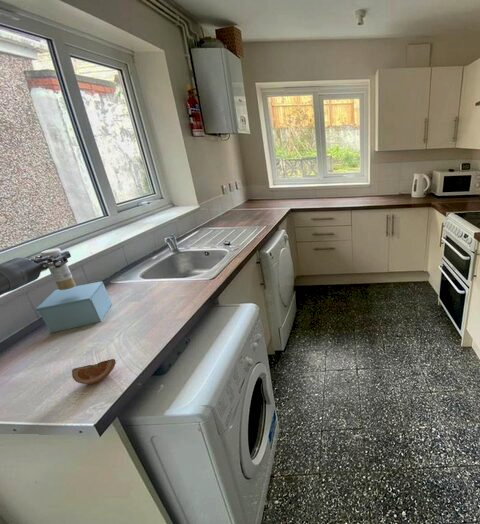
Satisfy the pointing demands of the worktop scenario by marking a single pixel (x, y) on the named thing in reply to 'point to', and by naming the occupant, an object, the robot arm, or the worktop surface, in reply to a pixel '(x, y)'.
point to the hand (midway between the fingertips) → (60, 254)
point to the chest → (77, 312)
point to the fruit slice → (93, 372)
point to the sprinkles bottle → (60, 271)
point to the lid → (70, 296)
